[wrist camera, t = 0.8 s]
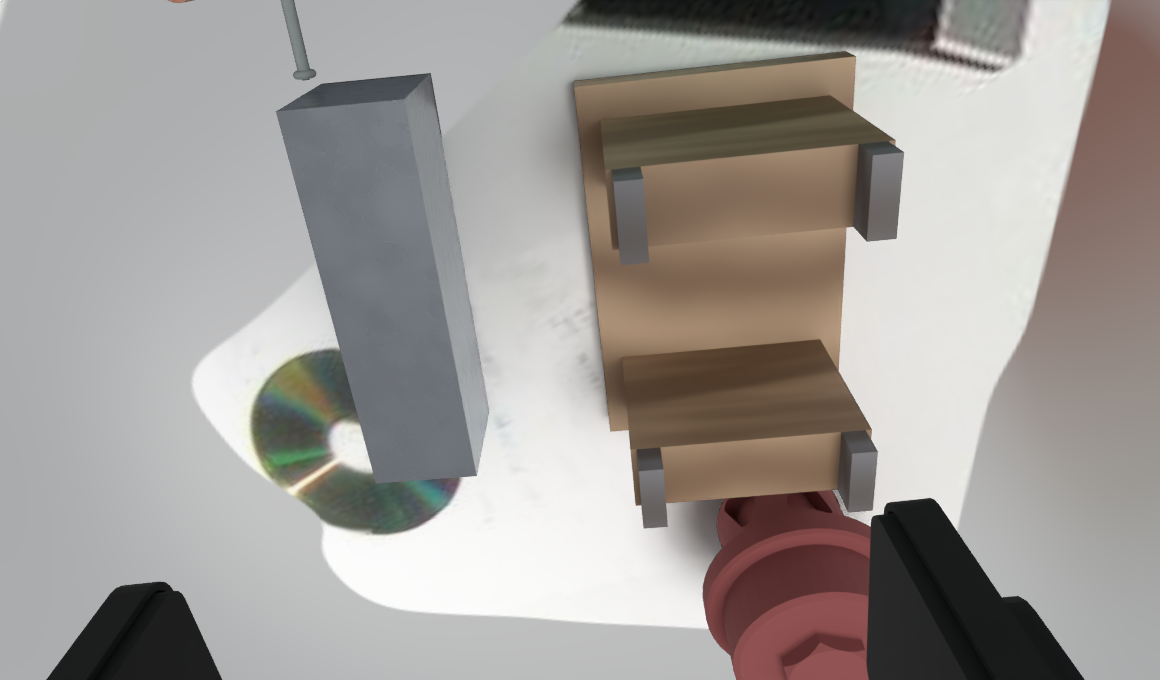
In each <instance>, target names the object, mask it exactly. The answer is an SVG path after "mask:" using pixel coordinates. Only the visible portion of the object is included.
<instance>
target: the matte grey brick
mask: <svg viewBox="0 0 1160 680" xmlns="http://www.w3.org/2000/svg"><path fill="white" fill-rule="evenodd" d="M276 113H277V117H278V121H279V124H280V128H281V132H282V135H283V139H284V143H285V146H286V150H287V154H288V158H289V161H290V165H291V169H292V173H293V176H294V180H295V184H296V187H297V191H298V195H299V198H300V202H301V206H302V210H303V213H304V217H305V221H306V225H307V228H308V231H309V236H310V240H311V243H312V247H313V250H314V254H315V258H316V262H317V266H318V269H319V273H320V277H321V280H322V284H323V288H324V292H325V295H326V299H327V303H328V306H329V310H330V314H331V318H332V321H333V325H334V329H335V332H336V336H337V340H338V344H339V347H340V351H341V355H342V358H343V362H344V366H345V370H346V373H347V377H348V381H349V384H350V388H351V392H352V396H353V399H354V403H355V407H356V410H357V414H358V418H359V422H360V425H361V429H362V433H363V436H364V440H365V444H366V448H367V451H368V455H369V459H370V462H371V466H372V470H373V474H374V477H375V481H376V483H387V482H401V481H414V480H428V479H441V478H455V477H468V476H477V472H478V467H479V461H480V456H481V451H482V446H483V440H484V435H485V430H486V425H487V420H488V414H489V408H488V402H487V396H486V391H485V385H484V379H483V374H482V368H481V362H480V357H479V351H478V345H477V339H476V334H475V328H474V322H473V317H472V311H471V305H470V300H469V294H468V288H467V282H466V277H465V271H464V265H463V260H462V254H461V248H460V243H459V237H458V231H457V226H456V220H455V214H454V208H453V203H452V197H451V191H450V186H449V180H448V174H447V169H446V163H445V157H444V151H443V146H442V140H441V138H442V134H441V129H440V123H439V117H438V111H437V106H436V100H435V94H434V88H433V83H432V77H431V73H426V74H416V75H406V76H396V77H385V78H375V79H366V80H356V81H345V82H334V83H324V84H320V85H319V86H317V87H316V88H314V89H312V90H311V91H309V92H308V93H306V94H304V95H302V96H301V97H299V98H298V99H296V100H294V101H293V102H291V103H289V104H288V105H286V106H284V107H283V108H281V109H280V110H278V111H276Z"/></svg>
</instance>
